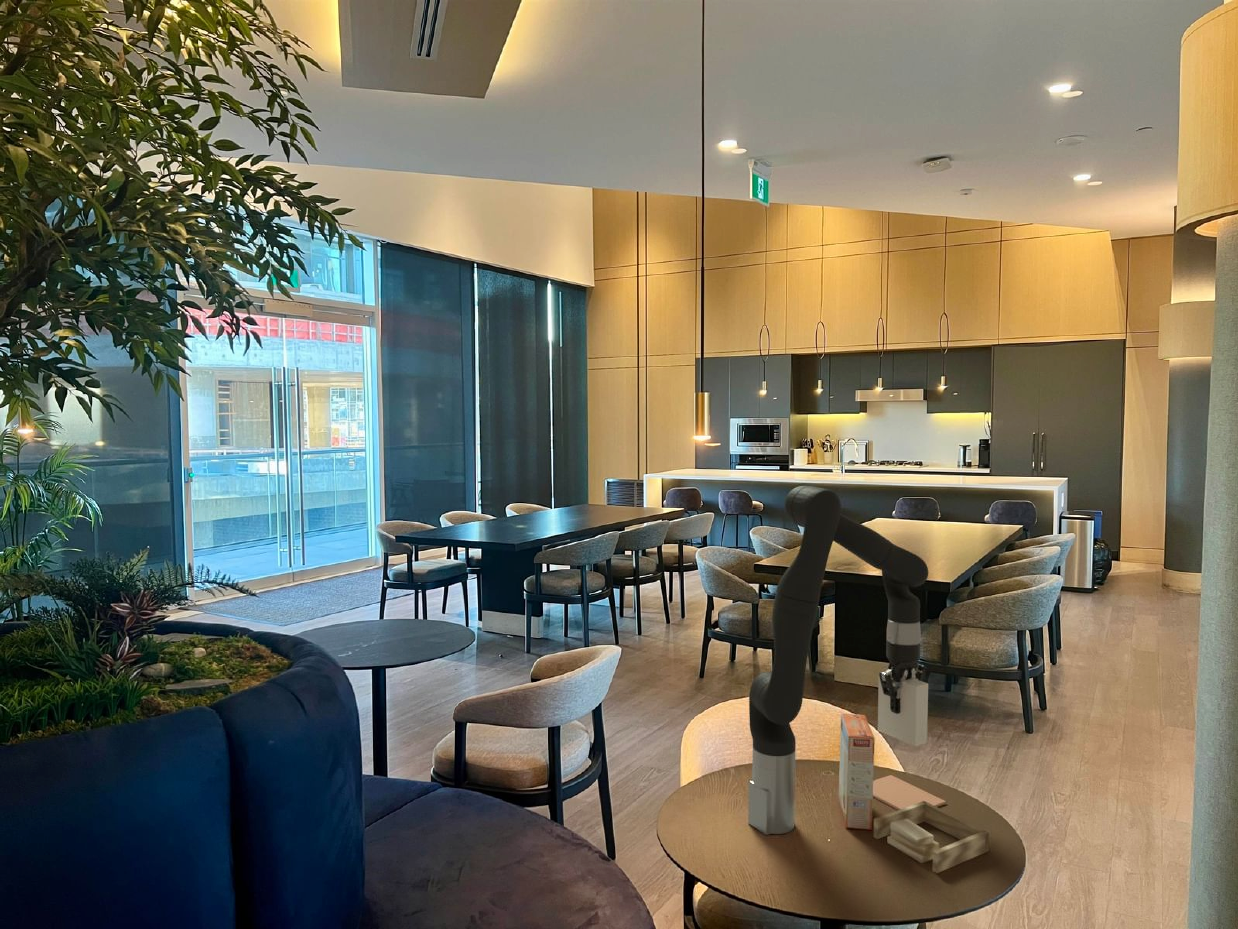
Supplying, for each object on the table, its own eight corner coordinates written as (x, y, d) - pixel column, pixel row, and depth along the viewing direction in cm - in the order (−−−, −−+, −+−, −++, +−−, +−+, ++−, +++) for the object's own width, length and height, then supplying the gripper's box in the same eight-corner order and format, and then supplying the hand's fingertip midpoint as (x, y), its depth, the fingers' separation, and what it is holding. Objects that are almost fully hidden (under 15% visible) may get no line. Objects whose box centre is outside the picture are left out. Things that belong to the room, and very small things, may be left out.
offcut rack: (936, 873, 160) (937, 853, 160) (873, 837, 174) (874, 818, 174) (988, 851, 168) (988, 832, 168) (923, 818, 182) (924, 801, 182)
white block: (915, 746, 186) (916, 686, 185) (877, 730, 195) (878, 673, 194) (927, 743, 188) (928, 683, 187) (889, 727, 197) (890, 670, 196)
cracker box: (873, 831, 176) (875, 737, 175) (845, 829, 177) (846, 735, 176) (864, 801, 190) (866, 713, 189) (837, 799, 191) (839, 712, 190)
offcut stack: (921, 864, 164) (922, 843, 163) (886, 843, 172) (887, 823, 171) (939, 858, 166) (940, 836, 166) (904, 837, 174) (905, 817, 174)
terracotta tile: (910, 816, 183) (910, 814, 183) (856, 788, 196) (856, 786, 196) (945, 804, 189) (945, 801, 189) (890, 777, 202) (890, 775, 202)
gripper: (911, 631, 197) (909, 700, 198) (869, 639, 190) (868, 711, 191) (937, 638, 190) (935, 710, 192) (895, 647, 183) (893, 722, 184)
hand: (902, 710), depth 191 cm, fingers closed on white block, 4 cm apart
